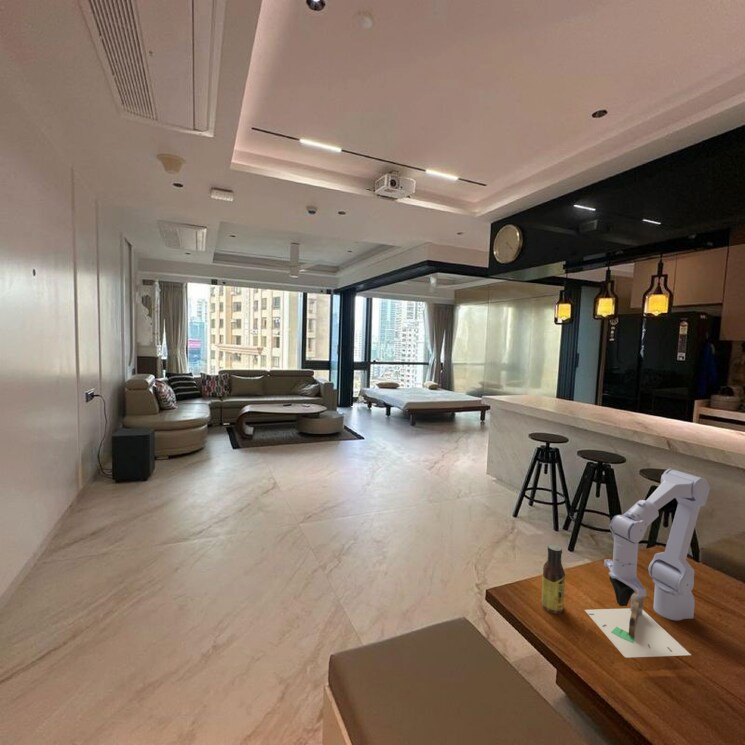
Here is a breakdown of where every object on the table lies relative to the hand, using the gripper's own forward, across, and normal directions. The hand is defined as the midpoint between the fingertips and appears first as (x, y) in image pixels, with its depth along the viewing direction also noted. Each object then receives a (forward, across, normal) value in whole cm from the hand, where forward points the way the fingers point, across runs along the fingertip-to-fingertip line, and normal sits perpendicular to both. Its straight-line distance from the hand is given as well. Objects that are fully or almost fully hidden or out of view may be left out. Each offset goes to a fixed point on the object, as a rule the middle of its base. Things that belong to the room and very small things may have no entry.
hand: (622, 604), depth 111 cm
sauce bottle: (+8, -10, -15) cm, 20 cm away
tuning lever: (+7, -1, +5) cm, 8 cm away
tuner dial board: (+8, +1, +3) cm, 9 cm away
